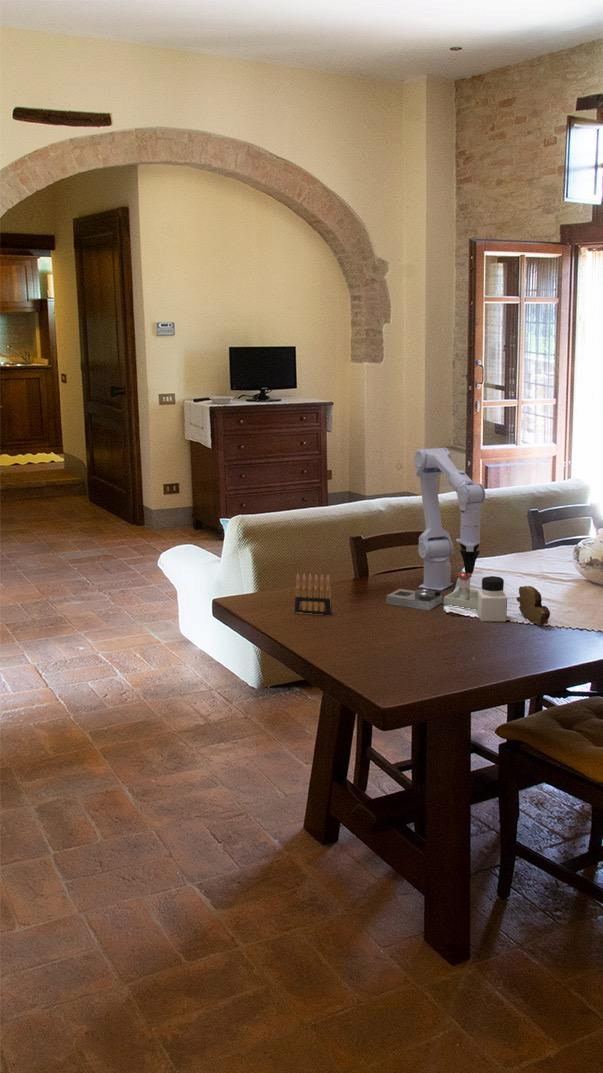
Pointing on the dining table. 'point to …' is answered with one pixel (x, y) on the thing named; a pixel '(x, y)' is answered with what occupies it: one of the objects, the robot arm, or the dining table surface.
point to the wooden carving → (532, 605)
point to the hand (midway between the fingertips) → (469, 570)
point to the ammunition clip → (313, 596)
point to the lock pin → (464, 585)
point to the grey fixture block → (415, 598)
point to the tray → (454, 601)
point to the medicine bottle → (492, 600)
